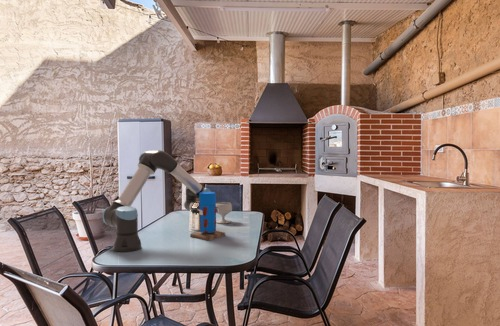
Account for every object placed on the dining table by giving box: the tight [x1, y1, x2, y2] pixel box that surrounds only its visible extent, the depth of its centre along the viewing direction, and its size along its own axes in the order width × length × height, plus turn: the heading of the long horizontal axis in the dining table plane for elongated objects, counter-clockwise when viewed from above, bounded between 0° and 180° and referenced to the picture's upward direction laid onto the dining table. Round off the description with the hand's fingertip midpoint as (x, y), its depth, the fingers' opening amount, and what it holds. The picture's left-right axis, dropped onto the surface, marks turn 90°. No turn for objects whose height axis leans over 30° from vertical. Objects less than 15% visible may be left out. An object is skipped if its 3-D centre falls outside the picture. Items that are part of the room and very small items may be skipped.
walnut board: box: [189, 230, 226, 241], centre depth 227 cm, size 16×16×2 cm
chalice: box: [216, 201, 233, 224], centre depth 271 cm, size 14×14×15 cm
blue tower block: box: [198, 191, 217, 233], centre depth 226 cm, size 11×11×25 cm
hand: (210, 212), depth 223 cm, fingers closed on blue tower block, 11 cm apart
